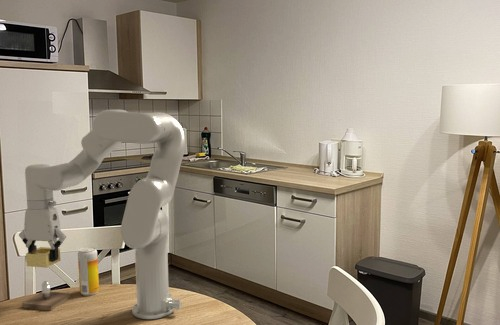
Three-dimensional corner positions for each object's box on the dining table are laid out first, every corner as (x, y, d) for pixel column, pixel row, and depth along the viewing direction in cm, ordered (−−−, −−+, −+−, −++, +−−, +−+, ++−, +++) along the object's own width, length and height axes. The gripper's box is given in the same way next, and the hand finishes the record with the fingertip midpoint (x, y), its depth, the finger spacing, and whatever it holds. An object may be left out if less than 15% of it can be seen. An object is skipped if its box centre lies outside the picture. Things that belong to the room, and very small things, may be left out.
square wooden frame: (60, 260, 152) (59, 248, 151) (46, 267, 145) (45, 255, 145) (41, 259, 153) (40, 247, 153) (26, 266, 147) (25, 253, 146)
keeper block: (70, 297, 155) (69, 276, 154) (51, 310, 145) (49, 288, 144) (43, 295, 157) (42, 274, 156) (22, 307, 147) (21, 286, 146)
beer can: (102, 289, 161) (99, 246, 159) (94, 296, 155) (92, 252, 153) (85, 289, 162) (82, 246, 160) (76, 296, 156) (74, 251, 154)
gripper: (72, 203, 149) (75, 257, 151) (24, 200, 153) (27, 254, 155) (57, 208, 141) (60, 265, 144) (7, 205, 145) (11, 261, 147)
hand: (43, 259), depth 149 cm, fingers closed on square wooden frame, 7 cm apart
